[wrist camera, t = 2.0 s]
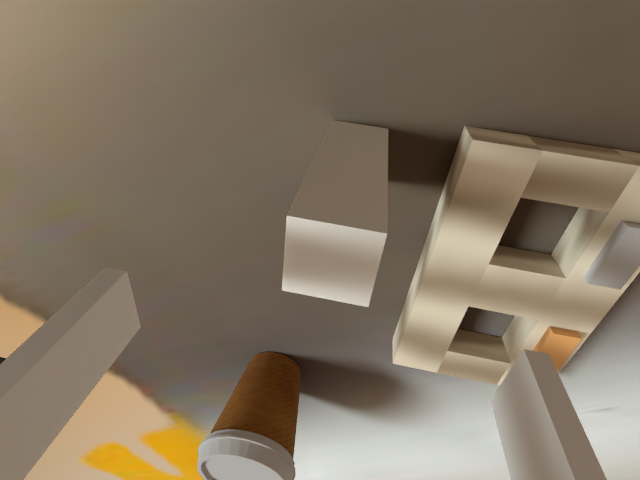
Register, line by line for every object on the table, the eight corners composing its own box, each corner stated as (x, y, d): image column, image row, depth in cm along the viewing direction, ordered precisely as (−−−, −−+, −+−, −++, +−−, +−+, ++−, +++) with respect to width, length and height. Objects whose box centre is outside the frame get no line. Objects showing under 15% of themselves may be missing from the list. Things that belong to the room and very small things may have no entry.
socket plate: (464, 125, 25) (475, 143, 21) (680, 159, 24) (724, 183, 20) (392, 339, 37) (392, 370, 34) (531, 367, 36) (545, 402, 33)
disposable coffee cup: (228, 340, 41) (177, 446, 31) (308, 343, 39) (281, 457, 30) (247, 391, 46) (209, 496, 37) (320, 395, 44) (300, 508, 35)
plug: (332, 120, 26) (286, 215, 14) (388, 128, 25) (387, 233, 14) (326, 171, 28) (281, 290, 16) (377, 180, 28) (368, 307, 16)
